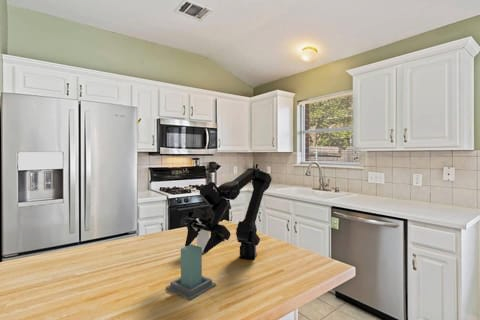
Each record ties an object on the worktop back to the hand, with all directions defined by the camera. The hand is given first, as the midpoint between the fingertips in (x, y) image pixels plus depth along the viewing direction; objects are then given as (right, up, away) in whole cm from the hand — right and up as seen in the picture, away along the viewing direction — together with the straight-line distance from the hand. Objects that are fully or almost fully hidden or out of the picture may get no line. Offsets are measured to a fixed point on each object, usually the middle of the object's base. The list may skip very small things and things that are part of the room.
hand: (194, 249), depth 93 cm
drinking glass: (-2, -12, +32) cm, 34 cm away
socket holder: (-1, -13, -1) cm, 13 cm away
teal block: (-1, -12, -1) cm, 12 cm away
